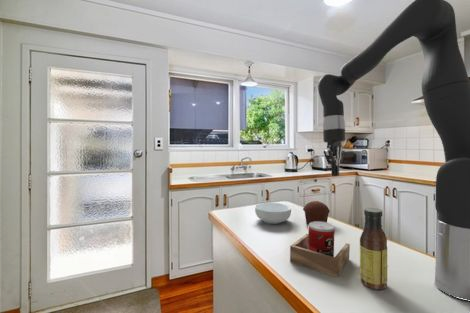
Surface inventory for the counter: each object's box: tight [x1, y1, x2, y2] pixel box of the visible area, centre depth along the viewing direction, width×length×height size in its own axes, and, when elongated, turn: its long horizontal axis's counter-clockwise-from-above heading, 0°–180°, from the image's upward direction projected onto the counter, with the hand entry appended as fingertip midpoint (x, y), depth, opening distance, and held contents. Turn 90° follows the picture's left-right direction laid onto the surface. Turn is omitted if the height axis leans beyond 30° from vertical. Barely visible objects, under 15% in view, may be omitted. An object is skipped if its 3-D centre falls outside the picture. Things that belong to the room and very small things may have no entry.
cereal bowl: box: [254, 202, 292, 225], centre depth 113 cm, size 17×17×7 cm
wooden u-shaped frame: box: [289, 233, 351, 278], centre depth 75 cm, size 13×14×5 cm
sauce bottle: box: [359, 207, 388, 291], centre depth 62 cm, size 6×6×20 cm
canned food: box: [307, 221, 335, 257], centre depth 76 cm, size 8×8×11 cm
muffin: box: [302, 201, 331, 226], centre depth 109 cm, size 12×11×10 cm
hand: (335, 175), depth 89 cm, fingers closed
